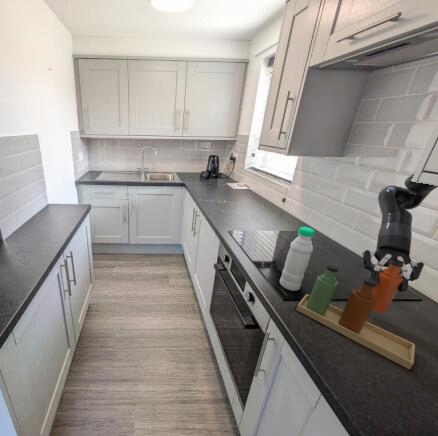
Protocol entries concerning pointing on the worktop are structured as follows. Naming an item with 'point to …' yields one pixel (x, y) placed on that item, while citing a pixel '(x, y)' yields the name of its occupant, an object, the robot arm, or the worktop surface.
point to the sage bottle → (323, 291)
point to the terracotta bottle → (387, 285)
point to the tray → (366, 335)
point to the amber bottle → (359, 306)
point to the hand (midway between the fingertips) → (387, 286)
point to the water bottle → (297, 260)
